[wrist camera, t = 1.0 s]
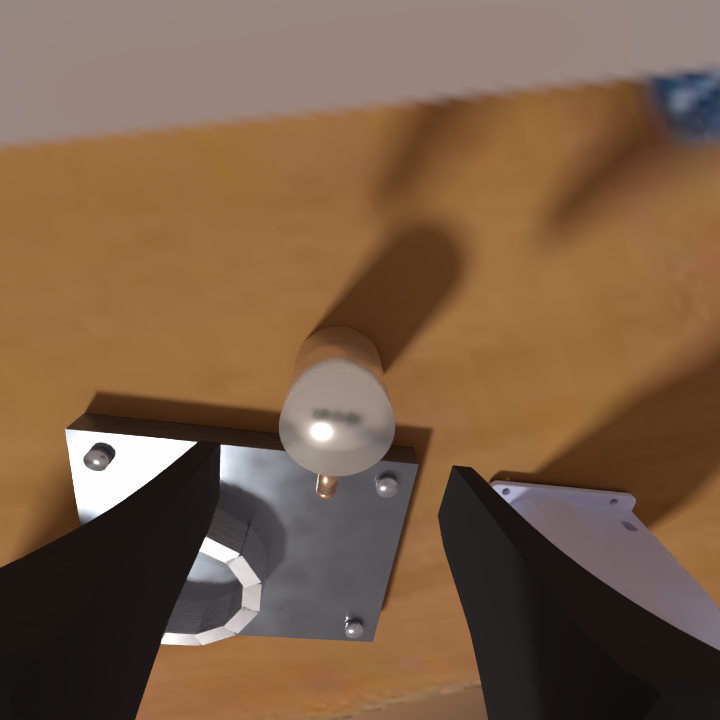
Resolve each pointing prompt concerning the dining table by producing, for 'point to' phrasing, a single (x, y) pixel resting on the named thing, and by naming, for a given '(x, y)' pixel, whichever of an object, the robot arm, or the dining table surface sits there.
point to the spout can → (337, 407)
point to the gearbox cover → (259, 529)
